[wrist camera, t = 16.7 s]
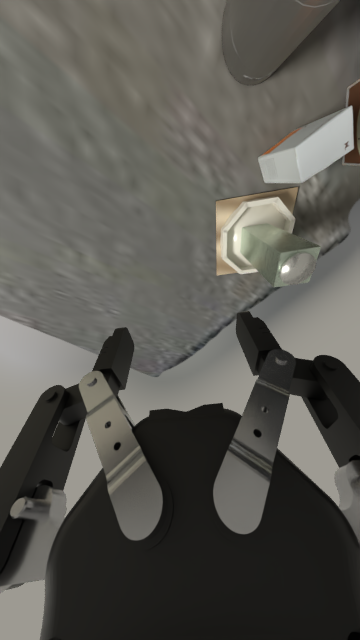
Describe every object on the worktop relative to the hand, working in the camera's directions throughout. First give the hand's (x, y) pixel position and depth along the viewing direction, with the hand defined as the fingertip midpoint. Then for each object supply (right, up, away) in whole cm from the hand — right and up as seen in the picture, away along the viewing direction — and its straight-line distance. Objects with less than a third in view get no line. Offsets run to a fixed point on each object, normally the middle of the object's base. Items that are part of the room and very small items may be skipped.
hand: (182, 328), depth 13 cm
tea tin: (+15, +18, +24) cm, 33 cm away
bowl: (+15, +19, +25) cm, 34 cm away
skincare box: (+16, +28, +17) cm, 37 cm away
